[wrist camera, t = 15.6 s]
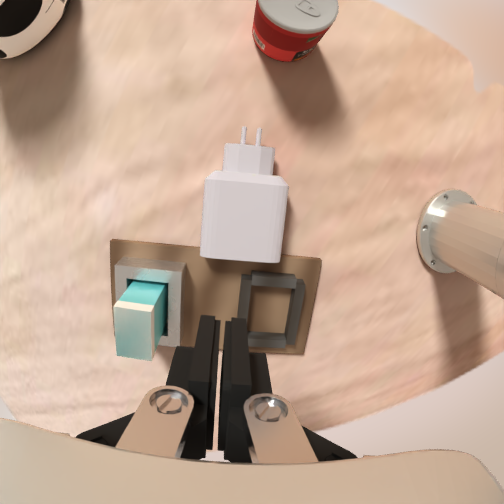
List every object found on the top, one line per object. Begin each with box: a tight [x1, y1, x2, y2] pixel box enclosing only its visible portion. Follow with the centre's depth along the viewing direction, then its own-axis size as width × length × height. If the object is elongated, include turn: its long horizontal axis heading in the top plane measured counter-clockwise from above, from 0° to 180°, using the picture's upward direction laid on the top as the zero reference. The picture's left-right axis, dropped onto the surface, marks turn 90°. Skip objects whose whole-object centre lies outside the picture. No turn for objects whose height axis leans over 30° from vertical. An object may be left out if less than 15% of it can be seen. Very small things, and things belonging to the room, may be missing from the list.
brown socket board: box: [110, 239, 322, 354], centre depth 41 cm, size 27×14×3 cm, turn 84°
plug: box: [113, 279, 169, 361], centre depth 36 cm, size 4×6×10 cm, turn 173°
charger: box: [200, 126, 289, 263], centre depth 37 cm, size 5×9×15 cm
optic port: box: [115, 257, 186, 347], centre depth 39 cm, size 8×10×4 cm
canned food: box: [252, 0, 339, 62], centre depth 28 cm, size 8×8×11 cm
